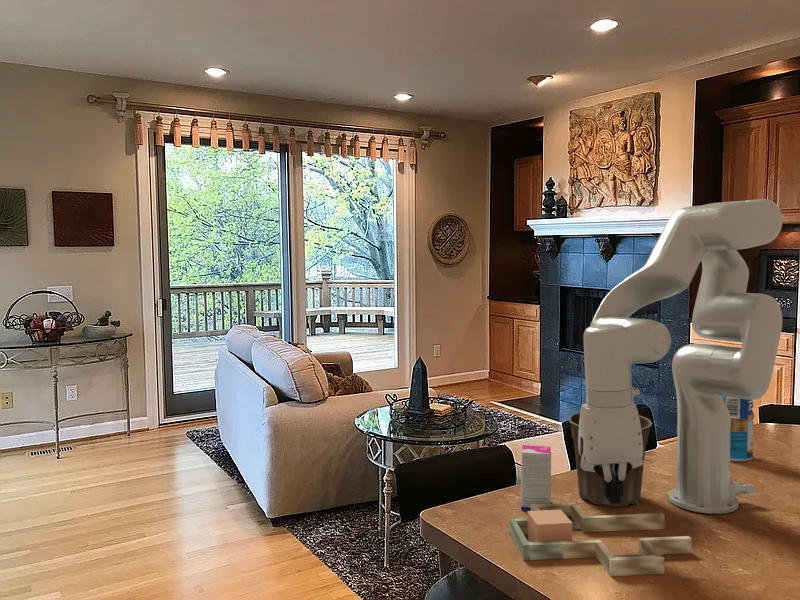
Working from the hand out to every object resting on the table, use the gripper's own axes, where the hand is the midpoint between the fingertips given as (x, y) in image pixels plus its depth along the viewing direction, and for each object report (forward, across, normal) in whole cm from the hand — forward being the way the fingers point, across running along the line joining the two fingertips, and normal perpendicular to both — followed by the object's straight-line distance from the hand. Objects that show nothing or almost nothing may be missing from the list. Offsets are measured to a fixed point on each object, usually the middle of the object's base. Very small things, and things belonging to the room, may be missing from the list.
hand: (613, 500), depth 115 cm
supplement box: (+7, +10, -17) cm, 21 cm away
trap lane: (+7, +3, +1) cm, 8 cm away
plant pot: (+8, -6, -20) cm, 22 cm away
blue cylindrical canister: (+11, -45, -43) cm, 63 cm away
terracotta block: (+6, +12, +1) cm, 14 cm away
